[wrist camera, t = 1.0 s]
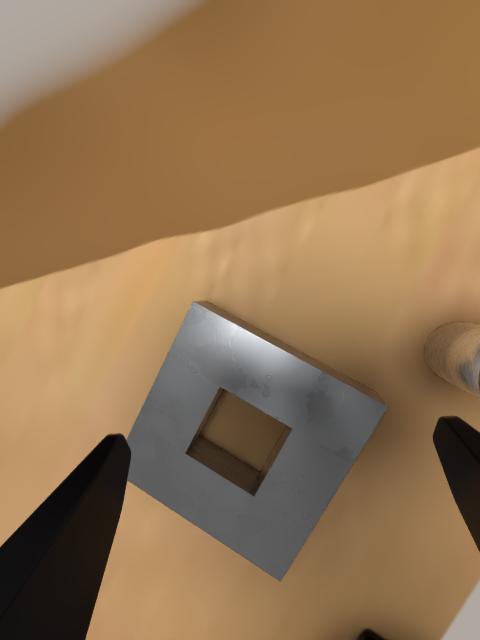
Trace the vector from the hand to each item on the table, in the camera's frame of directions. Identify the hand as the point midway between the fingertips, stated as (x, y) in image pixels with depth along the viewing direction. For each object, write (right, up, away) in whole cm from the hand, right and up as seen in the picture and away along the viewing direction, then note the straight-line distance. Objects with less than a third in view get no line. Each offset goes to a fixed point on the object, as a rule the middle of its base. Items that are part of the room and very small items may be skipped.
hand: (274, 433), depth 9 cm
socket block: (-1, -5, +15) cm, 16 cm away
